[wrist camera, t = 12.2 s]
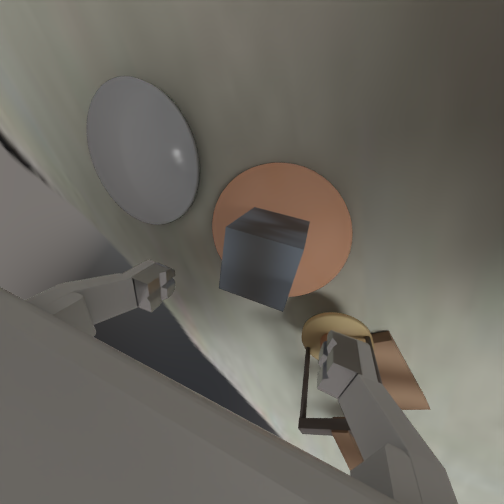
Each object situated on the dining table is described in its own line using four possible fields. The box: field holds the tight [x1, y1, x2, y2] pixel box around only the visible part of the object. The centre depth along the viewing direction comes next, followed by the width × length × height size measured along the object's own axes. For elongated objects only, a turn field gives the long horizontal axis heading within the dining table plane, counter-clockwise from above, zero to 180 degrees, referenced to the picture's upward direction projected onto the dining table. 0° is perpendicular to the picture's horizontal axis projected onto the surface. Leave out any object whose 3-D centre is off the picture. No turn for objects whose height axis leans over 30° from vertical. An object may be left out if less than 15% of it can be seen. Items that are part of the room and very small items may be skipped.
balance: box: [298, 312, 430, 471], centre depth 16 cm, size 23×8×15 cm, turn 35°
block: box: [219, 207, 310, 312], centre depth 15 cm, size 5×5×6 cm
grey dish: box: [87, 76, 200, 224], centre depth 20 cm, size 13×13×1 cm
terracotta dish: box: [212, 163, 353, 297], centre depth 18 cm, size 13×13×1 cm
